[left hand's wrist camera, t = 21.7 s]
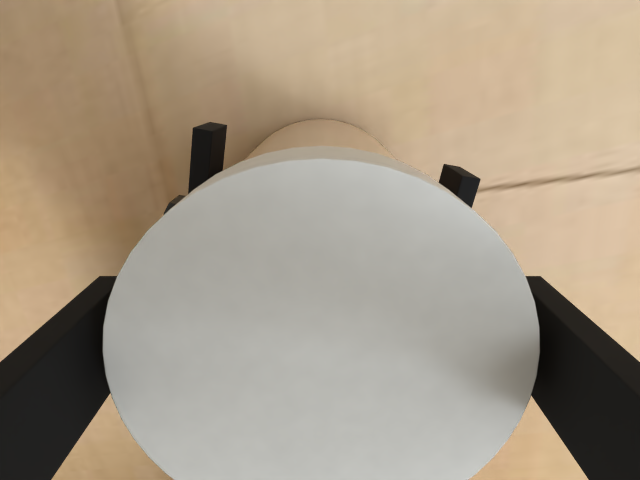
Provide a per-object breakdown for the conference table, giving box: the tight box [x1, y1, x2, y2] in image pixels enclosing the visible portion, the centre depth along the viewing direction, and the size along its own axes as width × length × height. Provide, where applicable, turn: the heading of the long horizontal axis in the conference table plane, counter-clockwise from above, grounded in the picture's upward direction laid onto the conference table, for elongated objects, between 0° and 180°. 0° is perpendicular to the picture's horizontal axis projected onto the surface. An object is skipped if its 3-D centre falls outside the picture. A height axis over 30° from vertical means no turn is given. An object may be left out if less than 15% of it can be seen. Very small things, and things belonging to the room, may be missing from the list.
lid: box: [103, 146, 540, 480], centre depth 11 cm, size 11×11×2 cm
